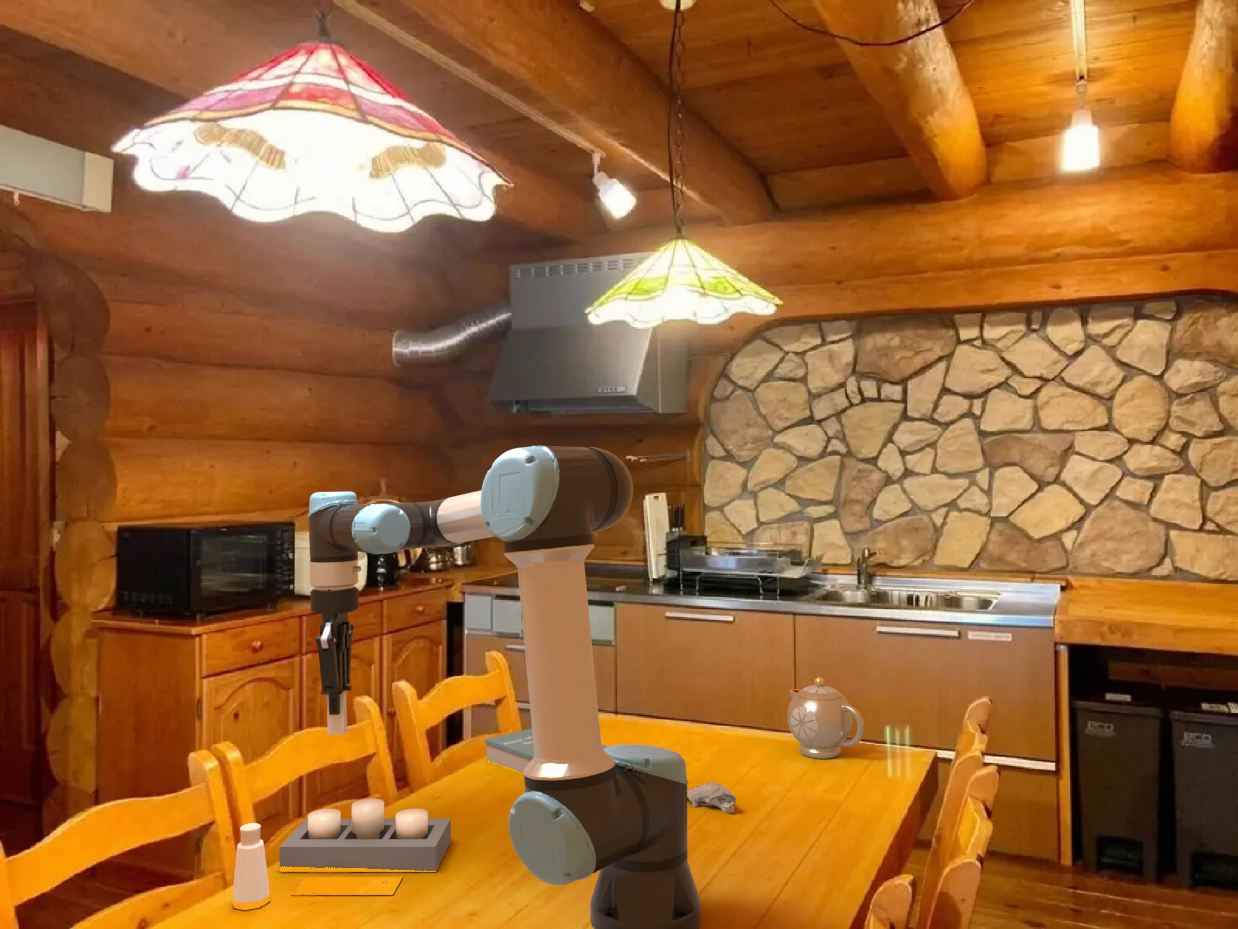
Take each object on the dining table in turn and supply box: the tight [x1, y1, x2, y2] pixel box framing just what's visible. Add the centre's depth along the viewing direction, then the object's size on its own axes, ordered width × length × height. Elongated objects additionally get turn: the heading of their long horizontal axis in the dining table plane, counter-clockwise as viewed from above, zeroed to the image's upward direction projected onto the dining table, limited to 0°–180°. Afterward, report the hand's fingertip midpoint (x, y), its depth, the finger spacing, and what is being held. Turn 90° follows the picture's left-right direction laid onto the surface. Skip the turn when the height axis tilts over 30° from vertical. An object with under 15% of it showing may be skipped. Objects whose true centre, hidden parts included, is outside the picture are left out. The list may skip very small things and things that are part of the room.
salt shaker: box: [232, 822, 271, 903], centre depth 141 cm, size 5×5×11 cm
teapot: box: [786, 676, 865, 760], centre depth 209 cm, size 18×14×16 cm
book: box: [484, 727, 609, 773], centre depth 204 cm, size 23×16×5 cm
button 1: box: [307, 808, 342, 839], centre depth 157 cm, size 5×5×6 cm
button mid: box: [351, 797, 385, 839], centre depth 157 cm, size 5×5×6 cm
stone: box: [687, 781, 737, 814], centre depth 179 cm, size 6×12×4 cm, turn 21°
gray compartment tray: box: [278, 817, 452, 872], centre depth 157 cm, size 12×24×4 cm, turn 89°
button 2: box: [395, 808, 429, 839], centre depth 157 cm, size 5×5×6 cm
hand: (337, 733), depth 160 cm, fingers closed
